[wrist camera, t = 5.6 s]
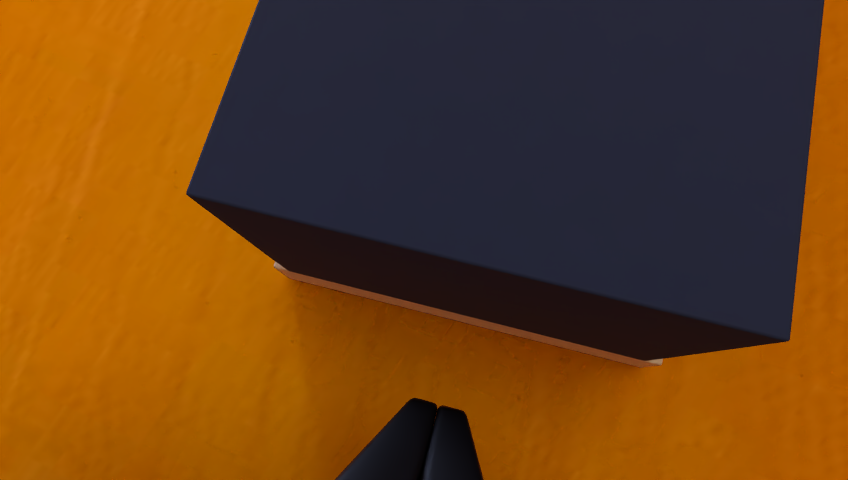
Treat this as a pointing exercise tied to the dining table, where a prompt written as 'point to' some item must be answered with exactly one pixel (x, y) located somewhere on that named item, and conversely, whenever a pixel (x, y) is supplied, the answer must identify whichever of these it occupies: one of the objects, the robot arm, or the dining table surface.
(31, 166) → the dining table surface
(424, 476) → the robot arm
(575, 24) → the navy stepped block
